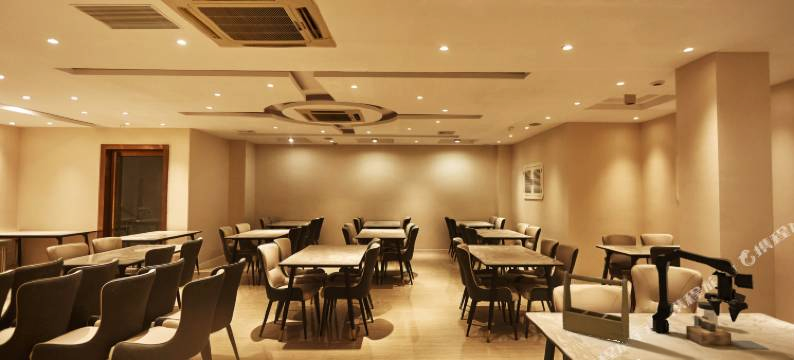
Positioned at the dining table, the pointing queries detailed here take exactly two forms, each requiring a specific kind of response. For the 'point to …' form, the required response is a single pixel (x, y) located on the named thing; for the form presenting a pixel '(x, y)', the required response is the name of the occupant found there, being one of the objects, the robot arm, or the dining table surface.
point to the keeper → (698, 320)
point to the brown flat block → (708, 339)
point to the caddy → (595, 313)
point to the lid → (708, 329)
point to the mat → (747, 345)
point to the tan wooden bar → (704, 320)
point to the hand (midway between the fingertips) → (725, 318)
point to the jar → (707, 312)
